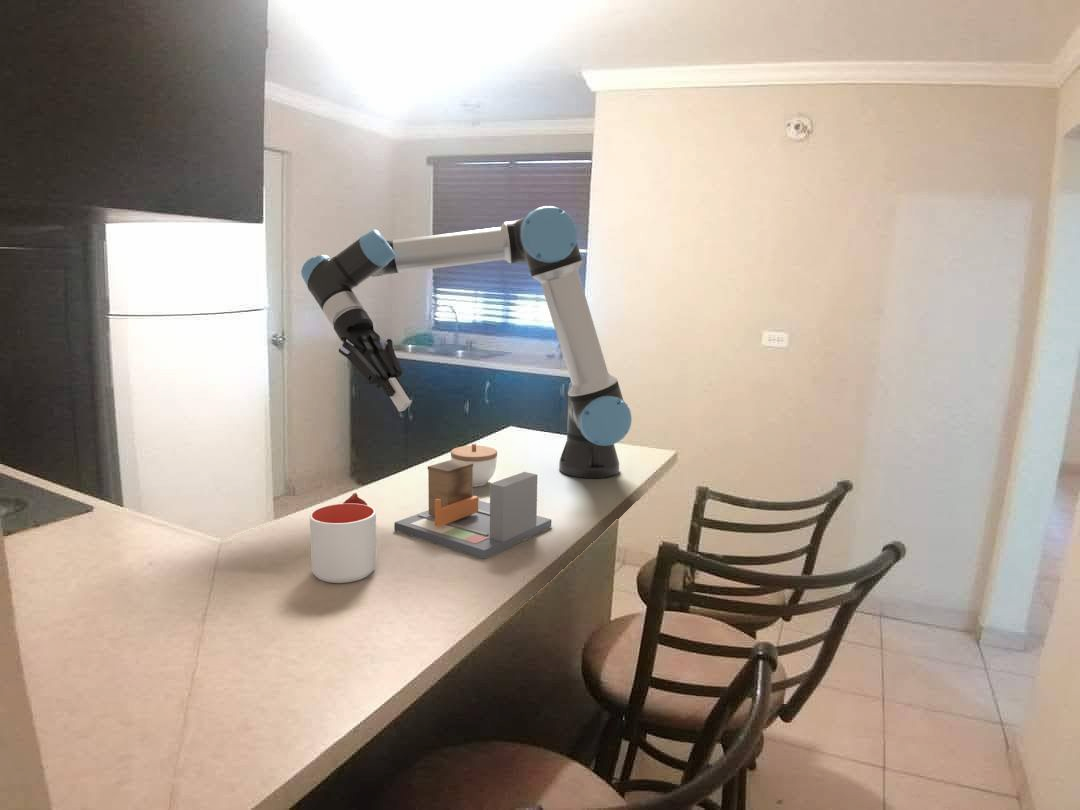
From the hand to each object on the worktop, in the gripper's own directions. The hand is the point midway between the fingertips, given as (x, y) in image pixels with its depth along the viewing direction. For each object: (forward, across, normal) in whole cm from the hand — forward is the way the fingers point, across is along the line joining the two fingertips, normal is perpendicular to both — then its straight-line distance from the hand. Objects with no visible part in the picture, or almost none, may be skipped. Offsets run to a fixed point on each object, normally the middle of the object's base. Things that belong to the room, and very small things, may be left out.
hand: (405, 407), depth 138 cm
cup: (+26, +28, -4) cm, 38 cm away
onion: (+18, +16, -13) cm, 27 cm away
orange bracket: (+25, +2, -2) cm, 25 cm away
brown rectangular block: (+22, 0, -5) cm, 23 cm away
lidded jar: (+14, -23, -16) cm, 32 cm away
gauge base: (+28, 0, -2) cm, 28 cm away
